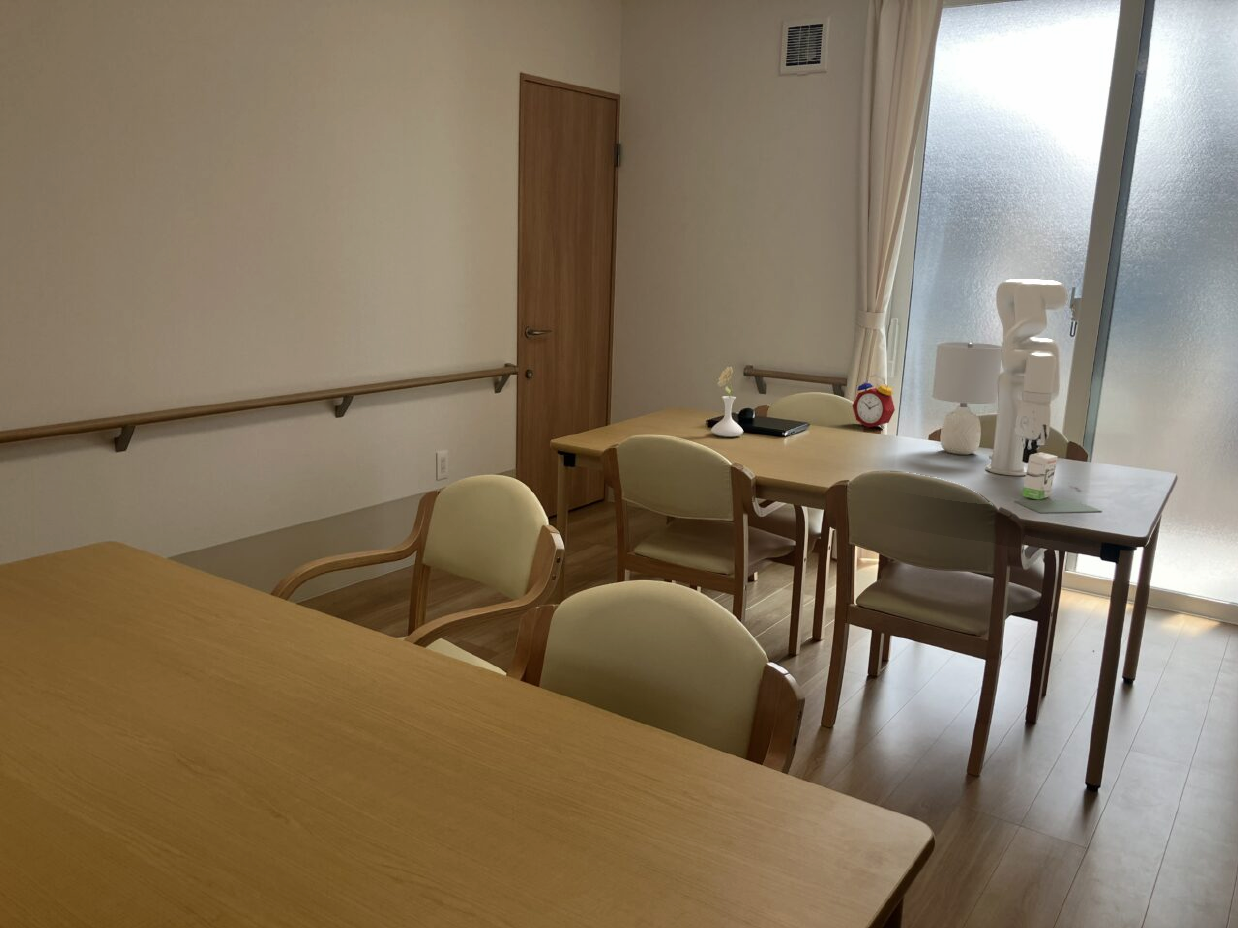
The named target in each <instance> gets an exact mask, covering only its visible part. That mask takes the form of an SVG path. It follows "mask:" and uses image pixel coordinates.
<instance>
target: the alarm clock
mask: <svg viewBox="0 0 1238 928" xmlns="http://www.w3.org/2000/svg"><path fill="white" fill-rule="evenodd" d="M866 377H867V378H866V381H862V384H860V385H858V387H857V391H859V392H857V395H856V398H855V399H854V402H853V403H852V408H853V413H854V417H855V420H856V422H858V423H860V424H859V425H860V426H864V427H866V428H868V429H869V428H873V427H874V428H875V427H878V426H880V428H881V429H882V430H884V429H885V427H884V425H885V424H889V423H890V421H891V419H892V417H893V414H894V413H895V410H896V408H895V405H894V402H893V398H892V395H893V394H894V393H893V389H892V388H891V387H889V384H885V383H886V379H885V378H884V377H882V376H880V375H878V374H873V375H869V376H866ZM872 377H878V378H880V379H882V380H883V384H881V385H880V384H879V383H876V386H877V387H875V388H873V387H874V385H873V384H872V383H871V382H870V383H869V382H868V381H869V378H872Z"/></svg>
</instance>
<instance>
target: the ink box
mask: <svg viewBox="0 0 1238 928" xmlns="http://www.w3.org/2000/svg"><path fill="white" fill-rule="evenodd" d="M1057 462H1058V456H1057V455H1054V454H1050V453H1047V452H1046V453H1045V452H1042V451H1041V452H1037V453H1035V454H1031V455H1030V457H1029V462H1028V463H1027V467H1026V468H1027V473H1026V475H1025V477H1024V478H1025V479H1024V484H1023V489H1022V495H1021V496H1022V497H1025V498H1031V499H1032V500H1044V499H1045V498H1048V497H1050V496H1051V491H1052V488H1053V483H1054V477H1055V472H1056V467H1057V464H1058V463H1057Z"/></svg>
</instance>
